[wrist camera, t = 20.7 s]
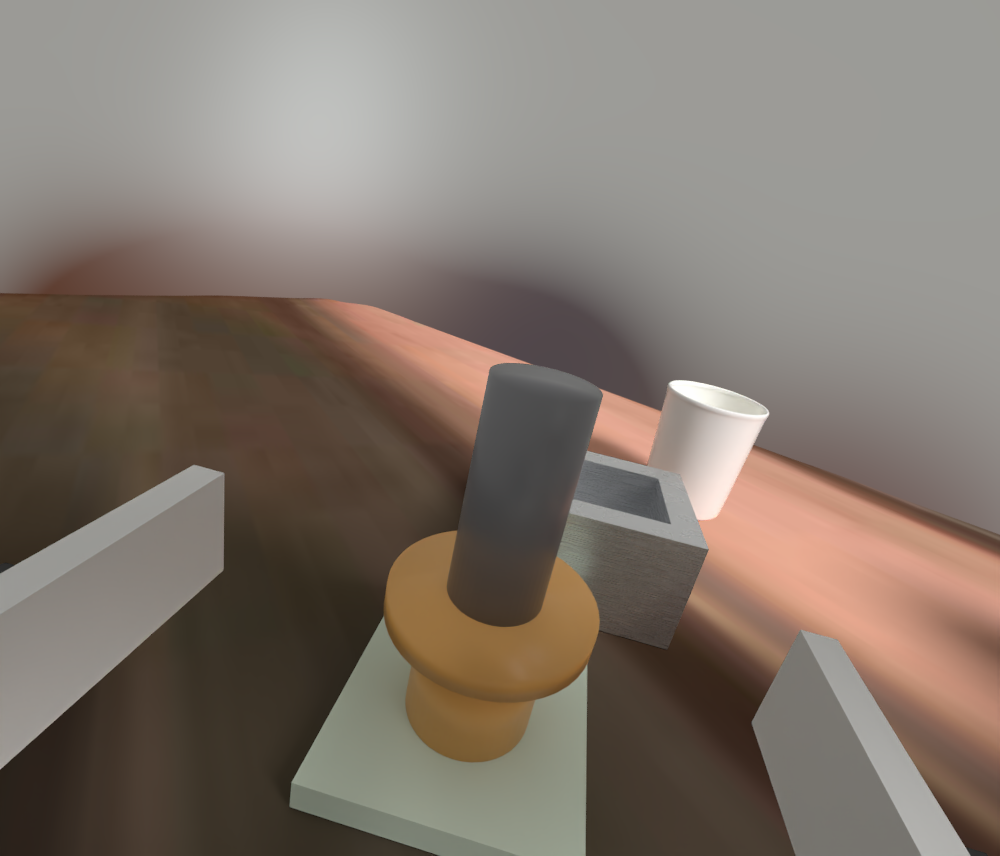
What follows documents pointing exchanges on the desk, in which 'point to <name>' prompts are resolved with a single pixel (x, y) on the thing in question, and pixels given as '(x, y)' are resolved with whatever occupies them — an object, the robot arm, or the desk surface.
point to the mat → (446, 772)
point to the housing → (634, 546)
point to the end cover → (500, 574)
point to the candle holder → (705, 440)
